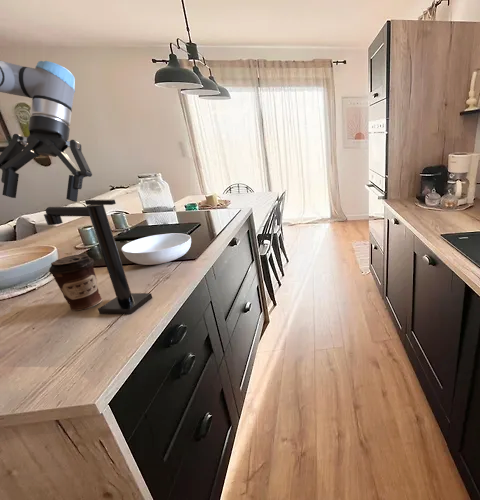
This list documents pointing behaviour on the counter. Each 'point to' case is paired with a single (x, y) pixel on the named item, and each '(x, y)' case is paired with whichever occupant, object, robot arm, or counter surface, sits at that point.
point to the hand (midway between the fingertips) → (41, 198)
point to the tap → (104, 254)
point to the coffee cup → (76, 281)
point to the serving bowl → (157, 248)
